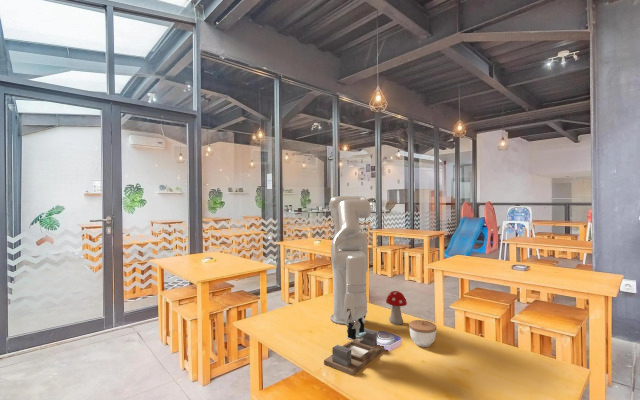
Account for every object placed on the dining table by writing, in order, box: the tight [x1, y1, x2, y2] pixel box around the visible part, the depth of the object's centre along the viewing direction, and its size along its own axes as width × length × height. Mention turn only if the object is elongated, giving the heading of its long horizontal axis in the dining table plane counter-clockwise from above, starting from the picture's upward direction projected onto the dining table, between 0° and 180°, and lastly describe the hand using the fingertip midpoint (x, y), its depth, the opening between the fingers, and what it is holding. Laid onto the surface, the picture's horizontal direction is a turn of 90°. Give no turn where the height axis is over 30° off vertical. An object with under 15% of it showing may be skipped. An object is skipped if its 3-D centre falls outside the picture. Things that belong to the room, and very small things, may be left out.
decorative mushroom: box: [385, 290, 408, 326], centre depth 158 cm, size 10×9×15 cm
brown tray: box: [323, 327, 385, 376], centre depth 125 cm, size 24×12×6 cm, turn 143°
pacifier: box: [346, 320, 366, 341], centre depth 124 cm, size 7×6×6 cm
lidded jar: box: [408, 319, 438, 348], centre depth 136 cm, size 11×11×9 cm
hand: (356, 335), depth 125 cm, fingers closed on pacifier, 5 cm apart
